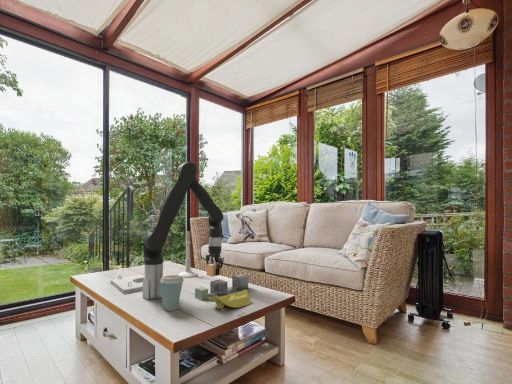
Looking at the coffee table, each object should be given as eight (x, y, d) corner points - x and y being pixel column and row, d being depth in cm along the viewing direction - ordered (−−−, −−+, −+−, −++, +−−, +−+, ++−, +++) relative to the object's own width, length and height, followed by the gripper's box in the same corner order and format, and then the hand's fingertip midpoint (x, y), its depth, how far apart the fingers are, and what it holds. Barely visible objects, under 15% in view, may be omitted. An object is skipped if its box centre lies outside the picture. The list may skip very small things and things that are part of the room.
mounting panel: (176, 276, 178) (123, 285, 159) (176, 284, 178) (123, 294, 159) (158, 268, 199) (110, 275, 179) (158, 276, 198) (110, 284, 179)
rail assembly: (214, 299, 151) (214, 284, 151) (205, 296, 155) (205, 282, 156) (249, 288, 170) (249, 275, 170) (240, 285, 175) (240, 273, 175)
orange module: (212, 276, 168) (212, 265, 168) (206, 275, 171) (206, 264, 171) (221, 274, 173) (221, 263, 173) (215, 273, 176) (216, 262, 177)
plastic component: (235, 293, 153) (248, 288, 147) (239, 308, 150) (252, 303, 144) (204, 299, 138) (217, 294, 133) (208, 316, 136) (221, 311, 130)
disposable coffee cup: (158, 306, 140) (158, 274, 141) (181, 303, 144) (181, 272, 145) (160, 314, 130) (161, 279, 131) (185, 310, 135) (185, 277, 135)
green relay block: (201, 300, 149) (201, 290, 149) (194, 297, 153) (195, 288, 153) (208, 298, 152) (208, 288, 152) (201, 296, 156) (201, 286, 156)
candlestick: (186, 278, 190) (186, 232, 191) (173, 275, 197) (174, 230, 198) (201, 275, 200) (201, 230, 201) (188, 272, 208) (189, 229, 209)
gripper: (202, 244, 175) (201, 273, 174) (218, 246, 165) (217, 277, 164) (212, 243, 180) (211, 271, 180) (228, 245, 171) (227, 275, 170)
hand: (214, 274), depth 172 cm, fingers closed on orange module, 5 cm apart
